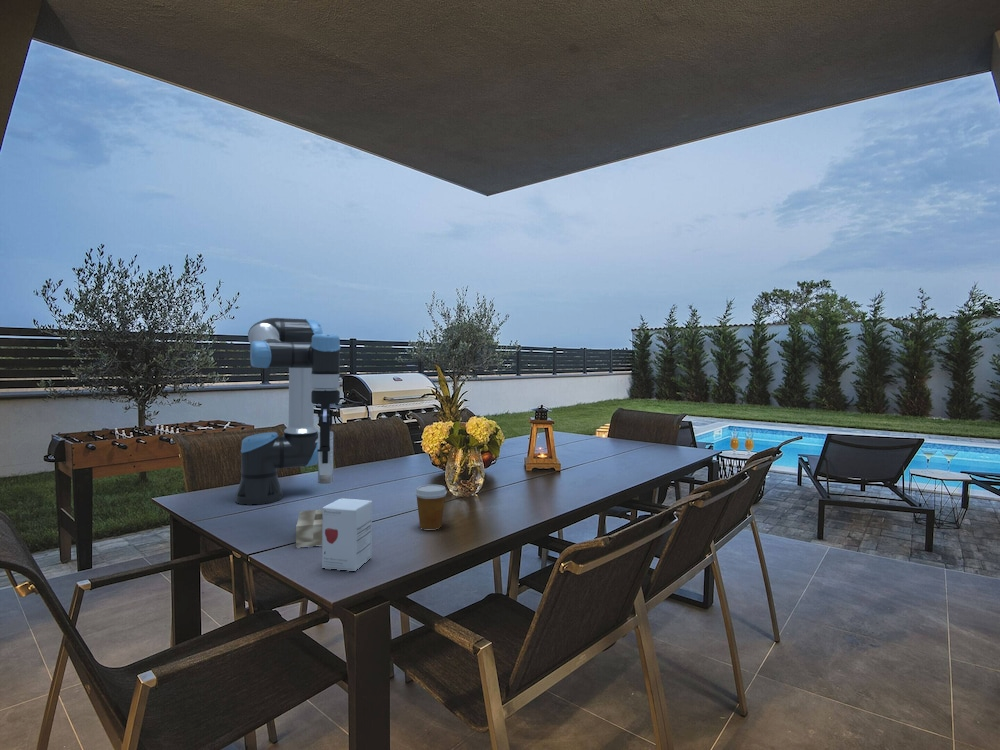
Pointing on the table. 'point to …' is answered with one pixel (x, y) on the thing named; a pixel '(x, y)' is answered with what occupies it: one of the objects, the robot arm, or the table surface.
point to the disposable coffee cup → (430, 505)
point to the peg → (329, 478)
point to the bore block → (309, 528)
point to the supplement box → (346, 534)
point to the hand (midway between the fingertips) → (325, 472)
